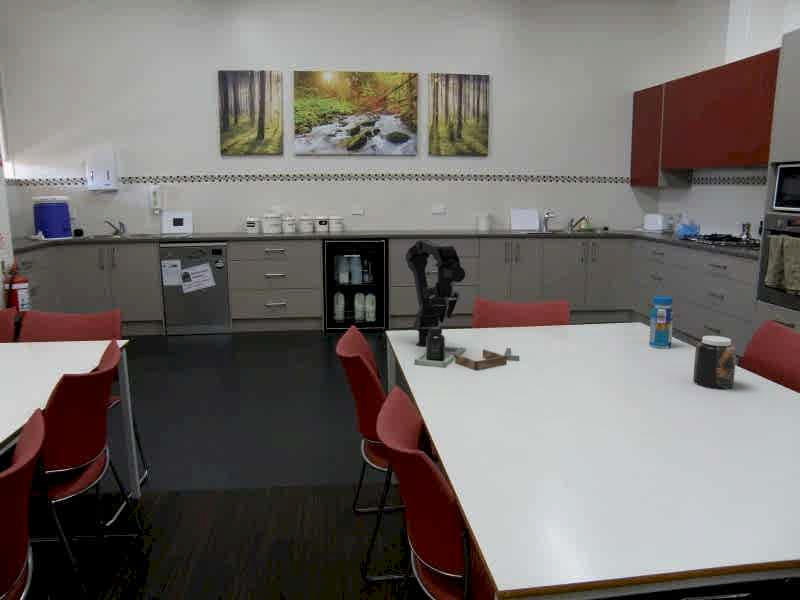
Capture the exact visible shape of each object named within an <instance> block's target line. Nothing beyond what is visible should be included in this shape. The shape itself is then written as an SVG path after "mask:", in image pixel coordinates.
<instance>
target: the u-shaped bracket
mask: <svg viewBox="0 0 800 600" xmlns="http://www.w3.org/2000/svg"><path fill="white" fill-rule="evenodd" d="M482 358H483V359H482V360H481V359H480V360H474V359H471V358H469V357H466V356H463V355H458V354H457V355H455V358H454V363H455V364H458V365H460V366H463V367H466V368H469V369H471V370H473V369H474V371H476V370H477V371H480V369H482V370H485V369H491V368H496V367H499V366H501V367H502V366H505V365H507V363H508V362H507V361H508V360H507V356H504V354H501V353H497V352H494V351H491V350H488V349H482Z"/></svg>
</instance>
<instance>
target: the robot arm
mask: <svg viewBox="0 0 800 600" xmlns="http://www.w3.org/2000/svg"><path fill="white" fill-rule="evenodd" d="M430 255H431V256H433V259H434V260H435V261H436V263H435V267H436V268H437V282H435V283H434V286H432V287H429V285H428V280H427V274H426V267H427V266H428V263H429V262H428V259H429V258H430ZM405 261H406V263H407V266H408V267H407V268H409V270H410V271H411V272H412V273H413V278H414V284H415V291H416V295H417V296H416V297H417V302H418V306H419V307H418V309H417V311H416V319H415V320H414V322H413V324H412V325H413V326H412V327H413V330H415V331H416V332H418V342H417V343H415V346H419V347H420V346H422V347H426V337H427V336H428V335H429V328H430V327H439V323H444V321H445V319H446V317H447V319H451V318H452V316H453V313H454V311H455V308H456V306H457V303H458V302H459V299H460V298H461V295H460V292H459V290H454V285H455V283H461V282H463V281H464V280H465V278H466V271H465V269H464V267H462V266H461V262H460V258H459V255H458V252H457V250H456V248H455V247H454V245H440V244H438V243H435V242H432V241H431V240H428V239H421V240H420V239H419V240H417V241H416V242H415V244H413V245H412V246H411V247H409V248H408V250H407V252H406V254H405Z"/></svg>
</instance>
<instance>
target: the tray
mask: <svg viewBox="0 0 800 600" xmlns="http://www.w3.org/2000/svg"><path fill="white" fill-rule="evenodd" d="M454 361H455V355H452V354H445V360H444V361H431V360H427V359H426V351H424V352H423V353H421V354H420V355H419V356H418V357H417V358H415V359H414V365H416V366H424V367H425V366H426V367H436V368H447V367H448V366H449V365H450V364H451V363H452V362H454Z"/></svg>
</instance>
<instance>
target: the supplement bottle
mask: <svg viewBox="0 0 800 600" xmlns="http://www.w3.org/2000/svg"><path fill="white" fill-rule="evenodd" d="M445 345H446V339H445V335H443V328H442V327H441V326H438V327H430V328H429V335H428V336H427V337H426V346H425V352H426V359H427V360H431V361H444V360H445Z"/></svg>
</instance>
